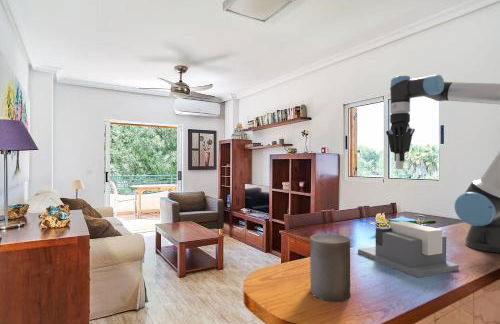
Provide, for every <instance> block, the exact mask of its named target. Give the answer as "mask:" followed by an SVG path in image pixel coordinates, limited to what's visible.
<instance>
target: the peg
mask: <svg viewBox="0 0 500 324" xmlns="http://www.w3.org/2000/svg"><path fill="white" fill-rule="evenodd" d="M414 223H415V222H409V221H405V220H401V221H400V220H399V221H390V222H389V228H392V232H396V233H399V234H403V235H407V236H410V237H414V238H418V239H421V240H422V254H425V255H434V254H441V253H442V236H443V229H441V228H436V227H433V226H432V227H431V226H428V225H427V226H425V225H424V226H423V224H421V225H419V224H420V223H418V224H417V223H415V224H414Z"/></svg>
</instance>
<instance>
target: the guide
mask: <svg viewBox="0 0 500 324" xmlns="http://www.w3.org/2000/svg"><path fill="white" fill-rule="evenodd" d="M357 254H358V255H361V256H364V257H367V258H369V259H371V260H373V261H377V262H378V263H381V264H384V265H386V266H388V267H391V268H394V269H395V270H398V271H401V272H403V273H405V274H408V275H411V276H413V277H414V278H422V277H423V278H424V277H427V276H432V275H438V274H443V273H450V272H453V271H454V272H455V271H459V267H460V266H459V264H457V263H453V262H451V261H448V260H447V236H445V235H442V253H441V254H434V255H425V254H422V240H421V239H418V238H414V237H410V236H407V235H403V234H399V233H396V232H392V228H390V227H389V226H378V227H375V246H371V247H364V248H363V247H362V248H358V249H357Z"/></svg>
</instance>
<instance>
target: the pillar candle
mask: <svg viewBox="0 0 500 324" xmlns="http://www.w3.org/2000/svg"><path fill="white" fill-rule="evenodd" d="M309 239H310V240H309V243H310V245H309V246H310V252H309V253H310V257H309V259H310V260H309V263H310V275H309V276H310V282H309V283H310V293H311V292H312V293H311V294H312V295H313V296H314V295H315V296H316V297H315V296H314V297H315V298H317V297H318V298H317V299H319V298H320V299H319V300H322V299H323V301H327V302H340V301H346V300H348V299H350V297H351V239H350V238H349V237H348V236H345V235H342V234H338V233H332V232H330V233H317V234H313V235H311V236H310V237H309Z"/></svg>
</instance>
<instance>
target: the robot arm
mask: <svg viewBox="0 0 500 324" xmlns="http://www.w3.org/2000/svg"><path fill="white" fill-rule="evenodd" d="M389 90H390V106H389V107H390V109H389V110H390V115H389V120H390V124H391V125H390V129H388V130H386V131H385V134H386V135H387V139H388V145H389V150H390V151H389V152H391V153H393V154H394V161H395V170H404V162H405V158H406V157H405V156H406V155H405V154H406V153H409V152H410V148H411V143H412V138H413V136H414V132H415V131H416V129H415V128H412V127H410V121H411V113H410V112H411V99H413V98H414V99H415V98H422V97H425V98H429V99H431V100H433V101H438V102H445V101H446V102H447V101H448V102H461V103H463V102H464V103H475V104H489V105H500V83H491V82H489V83H488V82H487V83H486V82H459V81H458V82H457V81H453V82H452V81H444V78H443V76H442V75H441V74H433V75H432V74H431V75H427V76H423V77H417V78H412V79H411V77H410V76H409V75H403V74H402V75H396V76H394V77H393V78H391V79H390V88H389ZM454 211H455V214H456V216H457V217H458V218H459V220H460V221H462V222H464V223H466V224H467V225H470V227H469V229H468V232H467V234H466V236H465V241H464V242H465V243H464V245H465V246H467V247H468V248H471V249H474V250H479V251H484V252H488V253H495V252H496V253H498V254H500V150H499V151H498V152H497V154H496V156H495V157H494V158H493V160H492V161H491V163H490V164H489V166H488V167H487V169H486V170H485V171H484V173H483V175H482V176H481V178H479V179H476V180H472V181H471V183H470V184H469V186H468V187H467V189H466V190H465V192H463V193H461V194H460V195H459V196H458V197H457V198H456V199H455V201H454Z"/></svg>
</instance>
